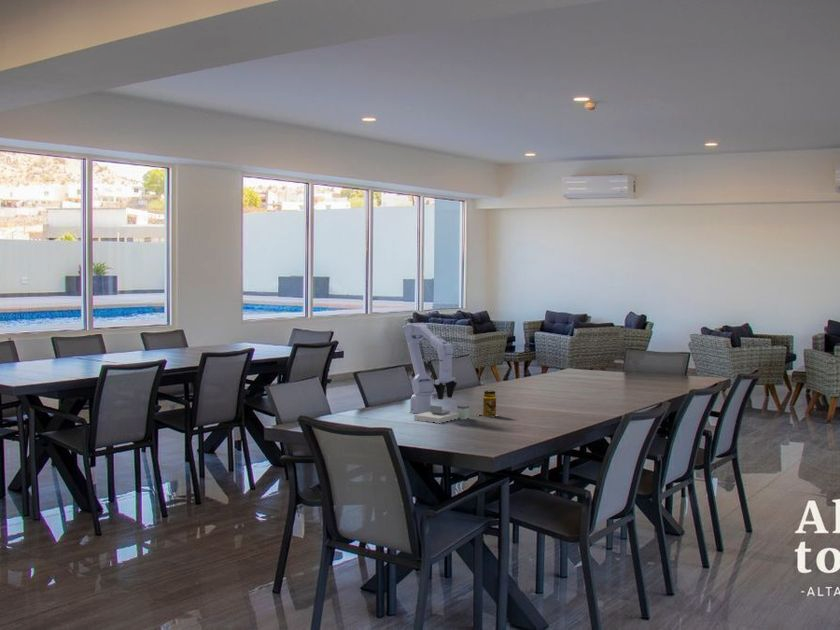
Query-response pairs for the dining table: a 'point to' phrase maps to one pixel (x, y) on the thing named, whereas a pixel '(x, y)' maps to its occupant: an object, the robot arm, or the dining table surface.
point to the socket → (436, 417)
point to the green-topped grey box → (463, 411)
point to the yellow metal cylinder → (489, 404)
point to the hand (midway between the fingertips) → (445, 398)
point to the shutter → (437, 410)
